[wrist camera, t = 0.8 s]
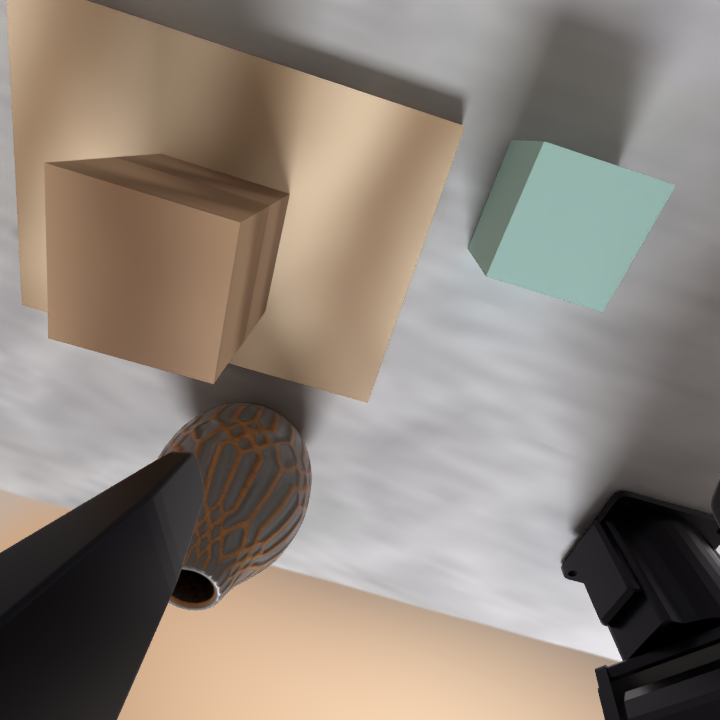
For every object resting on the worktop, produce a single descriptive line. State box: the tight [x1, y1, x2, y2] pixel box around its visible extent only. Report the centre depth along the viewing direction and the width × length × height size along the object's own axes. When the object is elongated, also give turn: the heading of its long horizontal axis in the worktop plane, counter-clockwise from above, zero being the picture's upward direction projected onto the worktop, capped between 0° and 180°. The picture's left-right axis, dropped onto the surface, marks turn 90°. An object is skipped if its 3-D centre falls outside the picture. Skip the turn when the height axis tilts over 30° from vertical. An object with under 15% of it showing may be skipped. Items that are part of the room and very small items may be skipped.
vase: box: [157, 403, 312, 610], centre depth 20 cm, size 7×7×9 cm
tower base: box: [115, 154, 290, 341], centre depth 17 cm, size 5×5×3 cm
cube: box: [468, 140, 676, 312], centre depth 16 cm, size 4×4×4 cm
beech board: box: [7, 0, 465, 403], centre depth 18 cm, size 16×12×1 cm
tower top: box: [44, 157, 270, 384], centre depth 14 cm, size 5×5×3 cm
